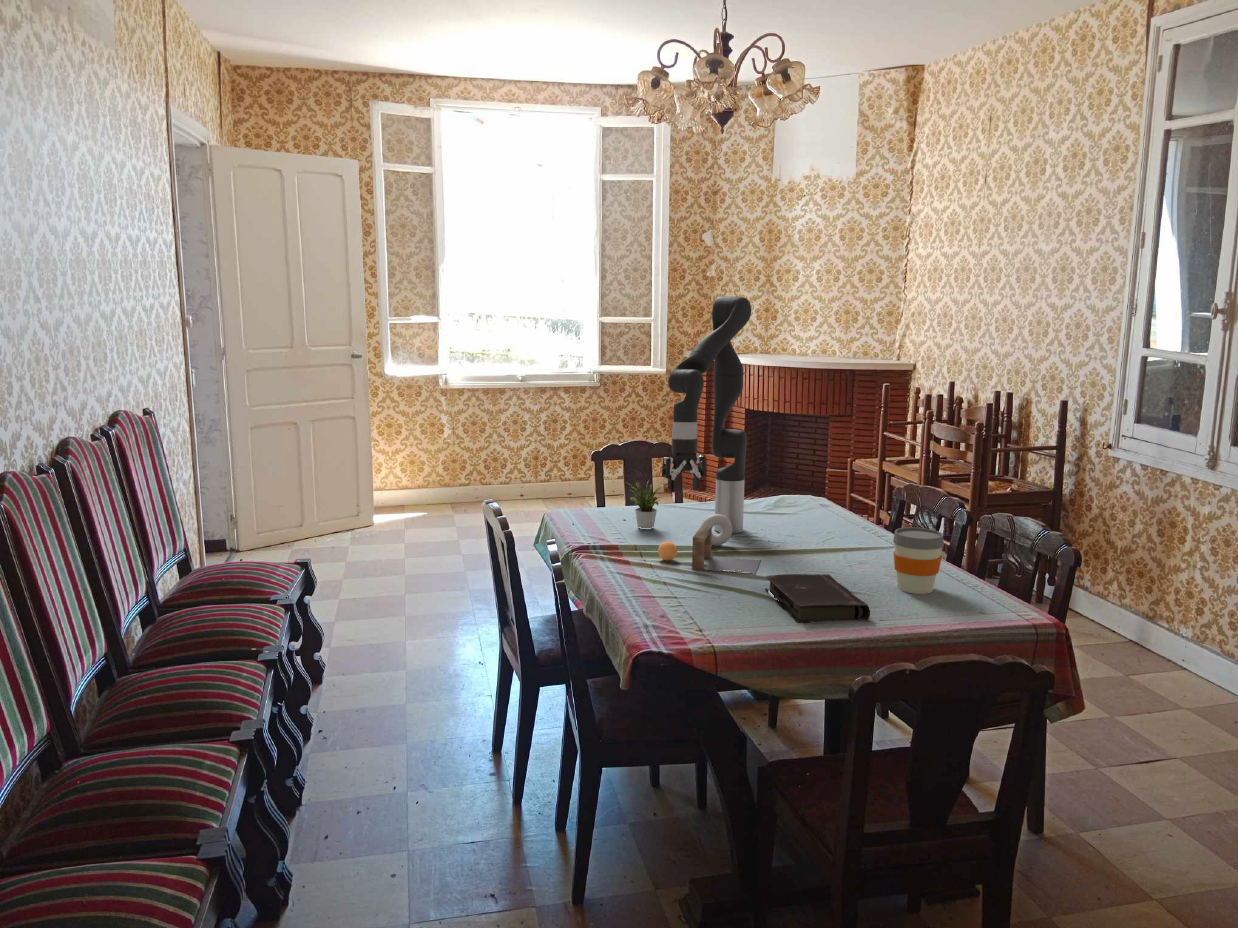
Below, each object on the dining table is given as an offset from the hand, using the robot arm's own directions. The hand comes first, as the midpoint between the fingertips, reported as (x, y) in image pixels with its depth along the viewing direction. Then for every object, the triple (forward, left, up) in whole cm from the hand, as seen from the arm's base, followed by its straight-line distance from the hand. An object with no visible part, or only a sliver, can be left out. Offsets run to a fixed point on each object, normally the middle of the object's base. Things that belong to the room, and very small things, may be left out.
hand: (683, 491), depth 278 cm
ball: (+13, -2, -15) cm, 20 cm away
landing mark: (+13, +17, -18) cm, 28 cm away
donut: (-7, +9, -18) cm, 21 cm away
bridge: (+13, +8, -18) cm, 23 cm away
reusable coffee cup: (+21, +66, -18) cm, 72 cm away
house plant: (-22, -18, -18) cm, 34 cm away
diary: (+42, +41, -19) cm, 61 cm away
